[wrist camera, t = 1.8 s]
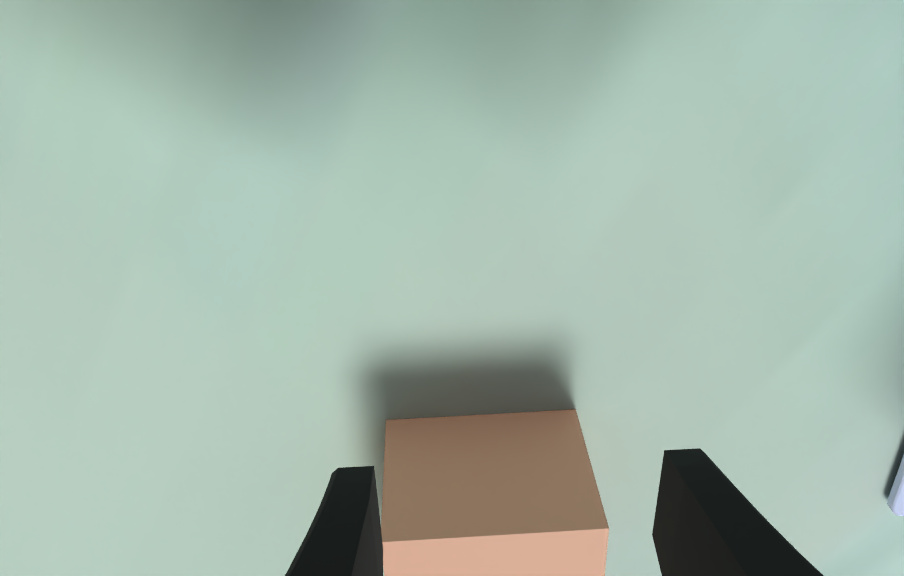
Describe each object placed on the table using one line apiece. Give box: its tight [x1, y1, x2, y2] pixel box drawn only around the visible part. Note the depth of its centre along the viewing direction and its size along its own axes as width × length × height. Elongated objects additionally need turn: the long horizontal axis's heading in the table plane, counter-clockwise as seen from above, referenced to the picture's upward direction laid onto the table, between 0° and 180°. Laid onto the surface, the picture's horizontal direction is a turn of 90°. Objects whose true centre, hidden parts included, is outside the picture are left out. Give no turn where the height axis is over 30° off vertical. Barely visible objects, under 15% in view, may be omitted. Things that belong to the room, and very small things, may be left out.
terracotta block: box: [381, 409, 609, 576], centre depth 24 cm, size 6×6×5 cm
